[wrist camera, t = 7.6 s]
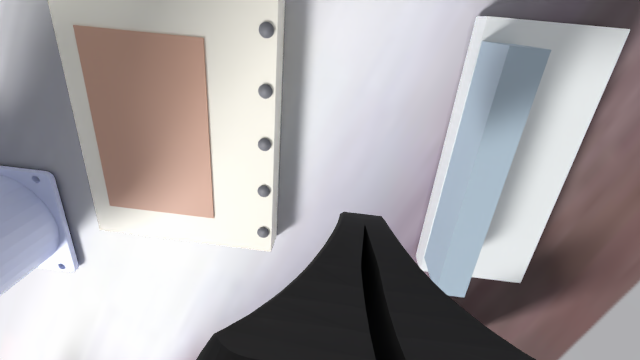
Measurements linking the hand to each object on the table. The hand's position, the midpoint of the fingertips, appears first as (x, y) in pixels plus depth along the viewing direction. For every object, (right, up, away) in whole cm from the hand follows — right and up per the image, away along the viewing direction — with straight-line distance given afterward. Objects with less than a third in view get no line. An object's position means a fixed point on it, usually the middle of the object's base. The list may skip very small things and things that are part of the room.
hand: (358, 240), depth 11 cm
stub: (+9, +3, +8) cm, 12 cm away
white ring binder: (-9, +5, +9) cm, 14 cm away
